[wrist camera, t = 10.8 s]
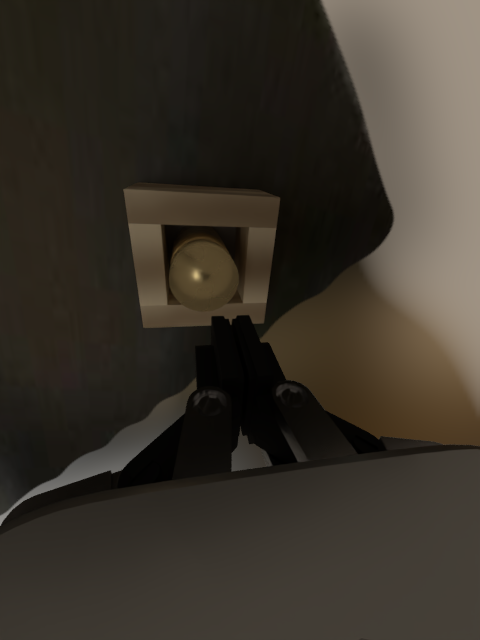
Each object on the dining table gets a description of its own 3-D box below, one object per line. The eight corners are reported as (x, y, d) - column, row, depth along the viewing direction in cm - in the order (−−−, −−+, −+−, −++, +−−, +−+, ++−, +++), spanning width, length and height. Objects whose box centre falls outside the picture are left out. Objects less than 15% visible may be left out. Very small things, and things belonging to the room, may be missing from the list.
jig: (138, 182, 21) (123, 188, 16) (258, 189, 23) (280, 197, 18) (151, 295, 26) (143, 327, 21) (249, 293, 28) (263, 323, 23)
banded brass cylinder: (170, 222, 22) (164, 246, 15) (222, 222, 23) (239, 244, 16) (175, 273, 24) (172, 313, 17) (223, 271, 25) (238, 309, 18)
